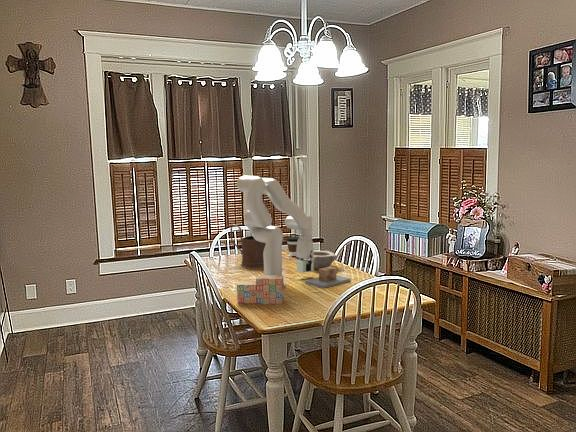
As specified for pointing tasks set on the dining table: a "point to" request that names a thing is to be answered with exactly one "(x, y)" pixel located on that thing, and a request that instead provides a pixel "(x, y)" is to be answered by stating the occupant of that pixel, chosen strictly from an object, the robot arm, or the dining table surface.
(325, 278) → the walnut brick
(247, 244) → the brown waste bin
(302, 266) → the mint brick
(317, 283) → the baseplate
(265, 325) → the dining table surface
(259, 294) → the stack of blocks
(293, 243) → the coffee cup
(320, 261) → the mortar
